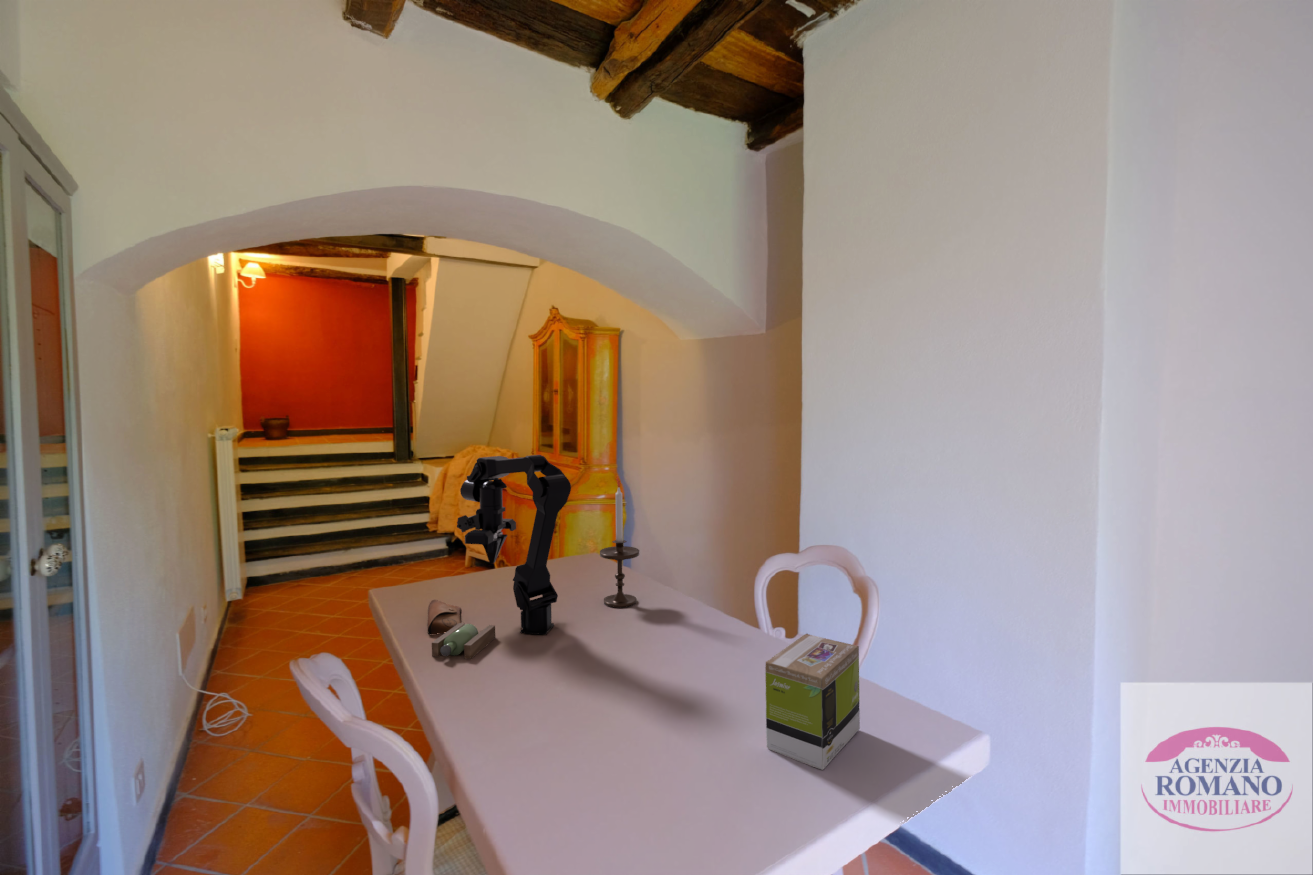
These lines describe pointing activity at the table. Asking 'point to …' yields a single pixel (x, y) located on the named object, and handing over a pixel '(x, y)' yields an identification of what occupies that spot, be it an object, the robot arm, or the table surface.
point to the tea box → (812, 699)
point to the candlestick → (619, 559)
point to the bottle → (458, 640)
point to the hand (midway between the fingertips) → (492, 563)
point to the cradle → (471, 646)
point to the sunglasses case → (442, 617)
